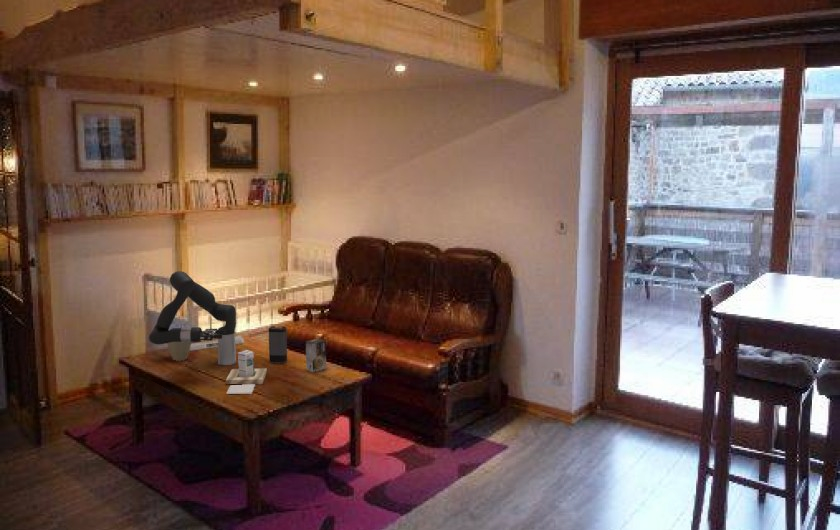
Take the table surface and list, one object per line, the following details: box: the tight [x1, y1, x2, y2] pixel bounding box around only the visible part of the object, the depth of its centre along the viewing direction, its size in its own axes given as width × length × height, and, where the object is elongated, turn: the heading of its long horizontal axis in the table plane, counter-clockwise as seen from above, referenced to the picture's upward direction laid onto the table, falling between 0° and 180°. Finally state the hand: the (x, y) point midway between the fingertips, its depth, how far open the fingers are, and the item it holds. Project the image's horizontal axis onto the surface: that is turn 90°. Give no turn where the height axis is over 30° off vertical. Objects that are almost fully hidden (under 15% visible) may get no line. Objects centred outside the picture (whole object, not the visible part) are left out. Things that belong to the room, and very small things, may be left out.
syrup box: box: [237, 349, 255, 377], centre depth 345 cm, size 6×6×14 cm
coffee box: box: [305, 338, 327, 373], centre depth 361 cm, size 9×6×16 cm
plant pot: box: [166, 342, 192, 362], centre depth 377 cm, size 15×15×16 cm
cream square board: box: [225, 367, 268, 385], centre depth 346 cm, size 18×18×2 cm
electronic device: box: [268, 325, 288, 364], centre depth 373 cm, size 9×6×20 cm, turn 84°
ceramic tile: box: [225, 384, 256, 395], centre depth 328 cm, size 12×12×1 cm
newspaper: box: [190, 334, 245, 352], centre depth 407 cm, size 35×12×4 cm, turn 122°
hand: (223, 334), depth 341 cm, fingers open, 8 cm apart
